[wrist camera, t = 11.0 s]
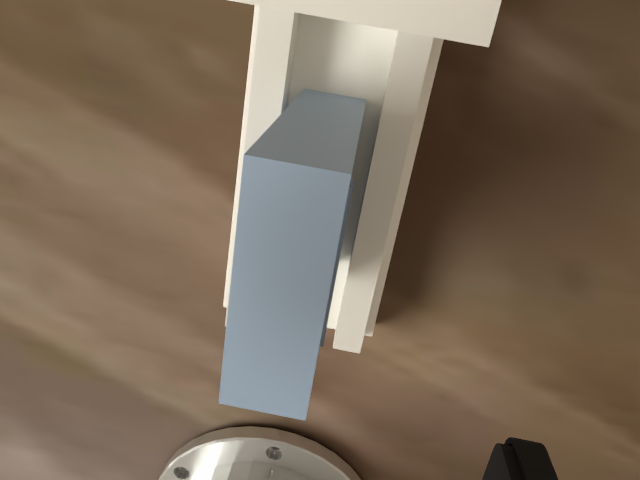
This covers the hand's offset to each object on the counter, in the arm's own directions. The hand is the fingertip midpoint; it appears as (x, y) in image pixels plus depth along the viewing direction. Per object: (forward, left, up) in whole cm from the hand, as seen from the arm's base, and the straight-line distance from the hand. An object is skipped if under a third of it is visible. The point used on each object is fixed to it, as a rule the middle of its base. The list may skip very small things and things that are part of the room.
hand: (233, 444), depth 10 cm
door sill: (+1, 0, -15) cm, 15 cm away
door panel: (+1, 0, -14) cm, 14 cm away
